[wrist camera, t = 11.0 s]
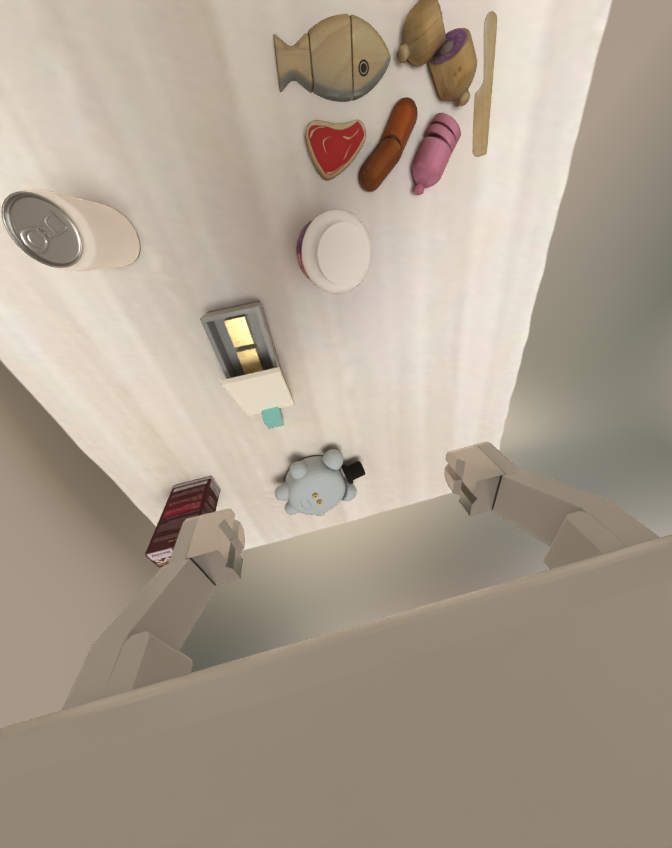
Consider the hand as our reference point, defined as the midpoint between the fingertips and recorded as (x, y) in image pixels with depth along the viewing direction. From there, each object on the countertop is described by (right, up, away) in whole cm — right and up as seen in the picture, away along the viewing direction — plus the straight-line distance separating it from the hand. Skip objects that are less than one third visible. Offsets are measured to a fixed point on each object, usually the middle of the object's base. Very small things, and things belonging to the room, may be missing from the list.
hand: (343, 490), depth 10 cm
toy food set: (+7, +41, +23) cm, 47 cm away
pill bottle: (-2, +28, +29) cm, 40 cm away
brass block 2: (-14, +14, +35) cm, 40 cm away
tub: (-15, +16, +34) cm, 40 cm away
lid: (-13, +8, +36) cm, 39 cm away
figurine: (-4, -9, +53) cm, 54 cm away
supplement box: (-31, -11, +49) cm, 59 cm away
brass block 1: (-15, +17, +32) cm, 39 cm away
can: (-29, +27, +24) cm, 46 cm away
